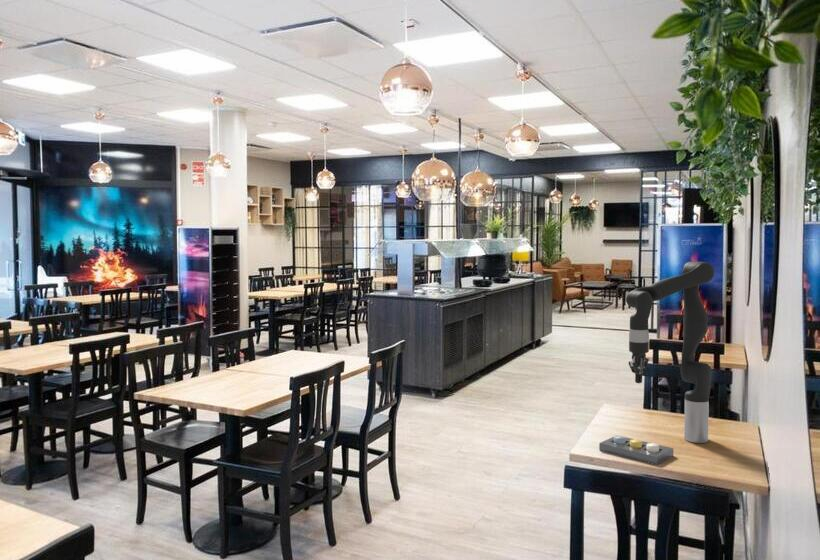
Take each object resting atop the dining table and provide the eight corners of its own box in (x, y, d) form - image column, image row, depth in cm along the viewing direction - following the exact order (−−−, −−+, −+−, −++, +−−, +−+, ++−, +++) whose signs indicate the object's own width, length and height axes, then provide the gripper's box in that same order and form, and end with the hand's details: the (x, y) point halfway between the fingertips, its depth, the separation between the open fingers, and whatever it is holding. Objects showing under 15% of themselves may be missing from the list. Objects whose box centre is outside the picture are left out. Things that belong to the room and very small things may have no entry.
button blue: (617, 444, 261) (617, 434, 261) (627, 447, 258) (627, 437, 258) (611, 447, 258) (611, 437, 258) (621, 450, 255) (622, 439, 255)
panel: (616, 442, 267) (616, 435, 266) (673, 455, 249) (673, 448, 249) (599, 450, 257) (599, 442, 257) (656, 464, 240) (656, 457, 239)
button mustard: (633, 448, 256) (633, 438, 256) (644, 451, 253) (644, 441, 253) (627, 451, 253) (627, 441, 253) (638, 454, 250) (638, 443, 250)
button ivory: (649, 452, 251) (649, 442, 251) (661, 455, 248) (661, 445, 248) (644, 455, 248) (644, 445, 248) (655, 458, 245) (655, 447, 245)
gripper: (639, 343, 249) (639, 387, 250) (655, 339, 258) (655, 381, 259) (622, 341, 254) (621, 384, 255) (638, 337, 263) (637, 378, 264)
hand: (638, 382), depth 257 cm, fingers closed
